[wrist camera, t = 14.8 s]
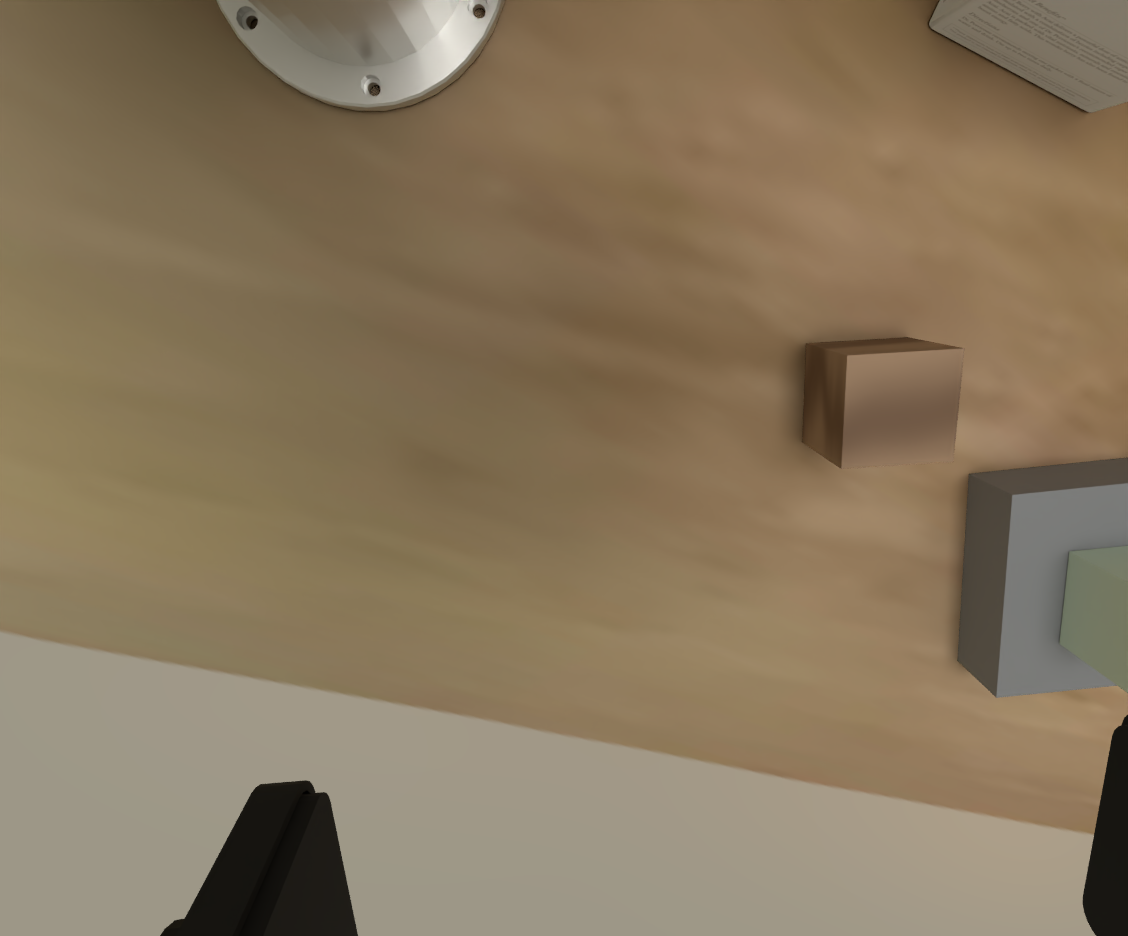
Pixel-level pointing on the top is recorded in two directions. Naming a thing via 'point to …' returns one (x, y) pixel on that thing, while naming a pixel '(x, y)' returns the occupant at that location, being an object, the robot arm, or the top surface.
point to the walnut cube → (882, 401)
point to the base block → (1033, 570)
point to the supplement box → (1048, 43)
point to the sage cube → (1098, 611)
